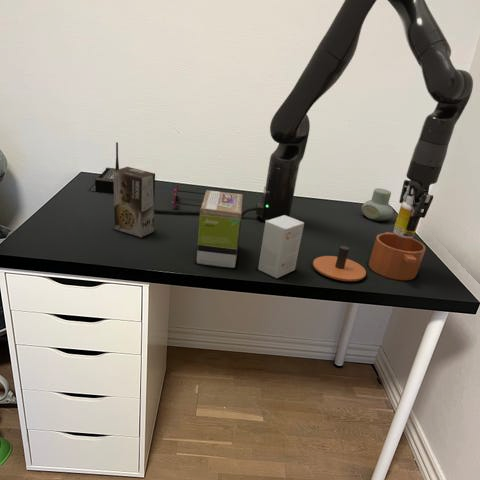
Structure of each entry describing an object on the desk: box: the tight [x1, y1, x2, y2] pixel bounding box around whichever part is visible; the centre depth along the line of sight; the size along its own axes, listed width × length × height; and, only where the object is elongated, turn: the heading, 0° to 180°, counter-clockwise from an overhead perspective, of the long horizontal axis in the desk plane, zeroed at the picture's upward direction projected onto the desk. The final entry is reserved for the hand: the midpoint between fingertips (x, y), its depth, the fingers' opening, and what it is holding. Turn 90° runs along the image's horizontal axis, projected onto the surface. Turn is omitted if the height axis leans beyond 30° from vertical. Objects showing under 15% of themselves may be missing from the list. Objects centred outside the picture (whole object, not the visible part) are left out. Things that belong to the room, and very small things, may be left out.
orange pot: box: [368, 231, 427, 281], centre depth 128 cm, size 13×18×8 cm
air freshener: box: [361, 187, 394, 222], centre depth 166 cm, size 11×8×10 cm
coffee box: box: [113, 166, 156, 238], centre depth 126 cm, size 9×6×16 cm
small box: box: [257, 215, 305, 279], centre depth 117 cm, size 8×6×13 cm
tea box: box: [196, 189, 244, 269], centre depth 120 cm, size 15×10×15 cm, turn 178°
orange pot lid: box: [312, 245, 367, 282], centre depth 123 cm, size 14×14×7 cm
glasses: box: [171, 185, 206, 210], centre depth 153 cm, size 14×16×5 cm
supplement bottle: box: [392, 195, 423, 238], centre depth 123 cm, size 6×6×10 cm
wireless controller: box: [90, 141, 120, 195], centre depth 155 cm, size 20×14×17 cm
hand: (405, 226), depth 124 cm, fingers closed on supplement bottle, 5 cm apart
